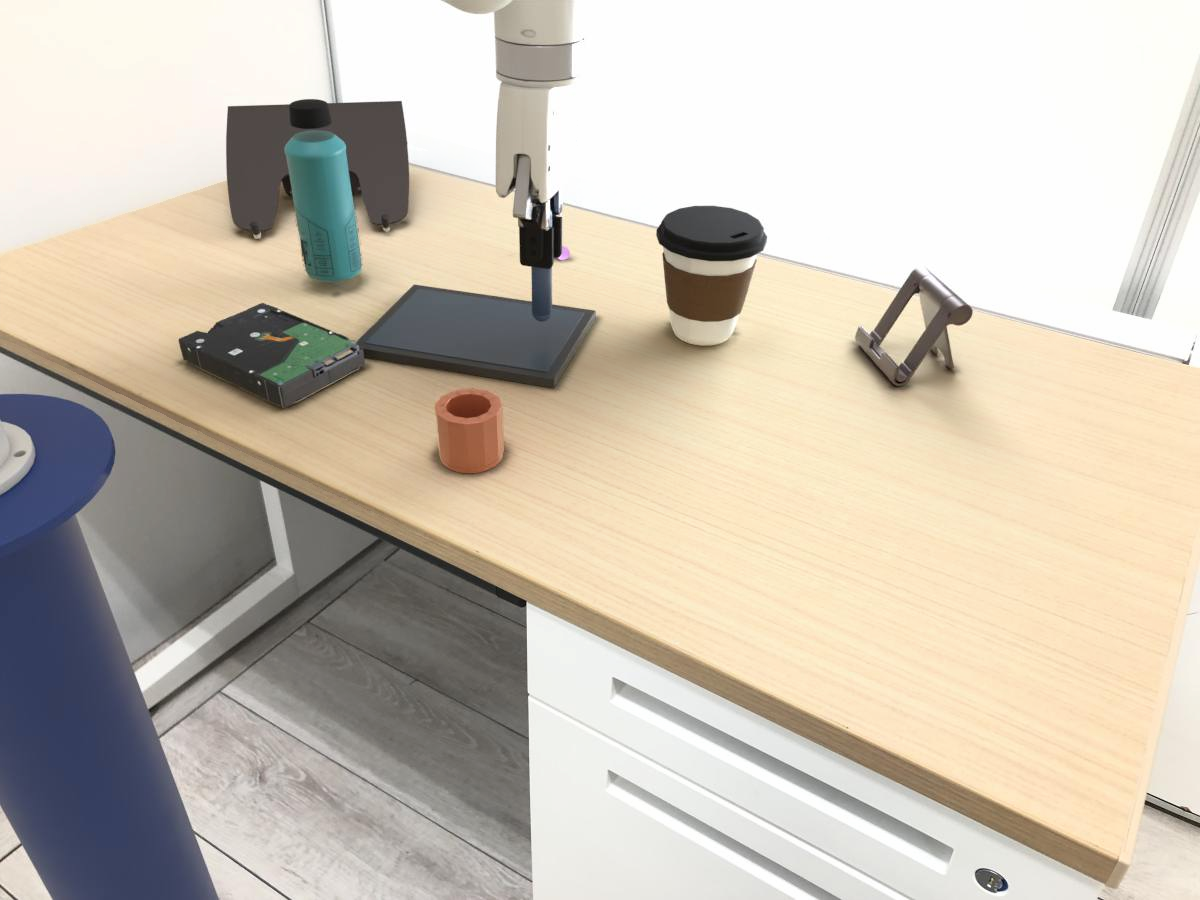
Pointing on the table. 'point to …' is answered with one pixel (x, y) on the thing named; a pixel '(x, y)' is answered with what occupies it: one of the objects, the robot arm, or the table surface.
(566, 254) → the pink pawn
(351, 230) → the beverage bottle
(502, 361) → the tablet
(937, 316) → the tablet stand
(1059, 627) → the table surface
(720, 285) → the coffee cup
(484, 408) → the pen pot
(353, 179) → the laptop tray
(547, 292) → the blue rounded rod
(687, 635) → the table surface
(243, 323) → the disk drive
